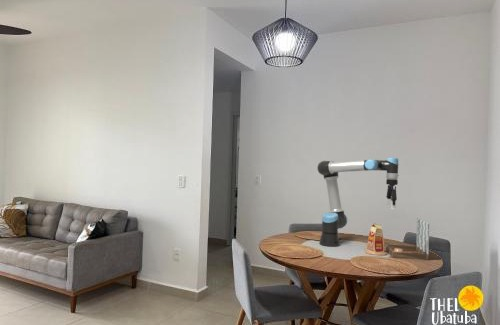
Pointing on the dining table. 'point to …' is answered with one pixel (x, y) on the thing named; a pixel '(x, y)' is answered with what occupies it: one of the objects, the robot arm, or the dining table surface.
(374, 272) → the dining table surface
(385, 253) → the tan round dome
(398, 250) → the peach rounded knob
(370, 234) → the milk carton
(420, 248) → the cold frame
